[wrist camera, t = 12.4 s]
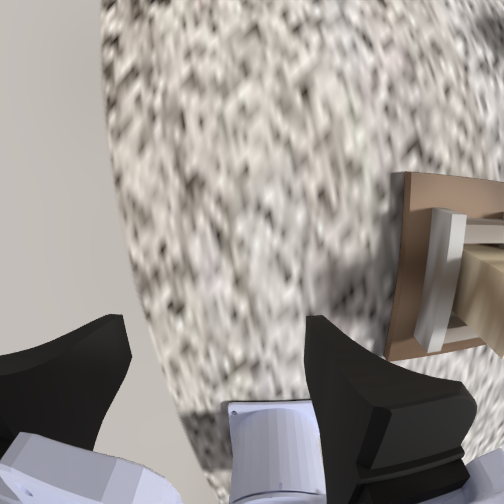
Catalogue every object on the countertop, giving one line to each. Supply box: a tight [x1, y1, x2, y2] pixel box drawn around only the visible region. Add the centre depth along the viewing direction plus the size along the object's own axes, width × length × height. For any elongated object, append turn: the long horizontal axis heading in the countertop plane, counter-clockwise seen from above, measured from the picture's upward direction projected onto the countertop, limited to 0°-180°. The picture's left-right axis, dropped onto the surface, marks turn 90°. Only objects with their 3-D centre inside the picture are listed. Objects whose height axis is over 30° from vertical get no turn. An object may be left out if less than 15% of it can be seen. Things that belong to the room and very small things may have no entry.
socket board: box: [384, 171, 504, 362], centre depth 19 cm, size 14×12×4 cm
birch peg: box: [452, 244, 504, 359], centre depth 16 cm, size 4×4×8 cm
